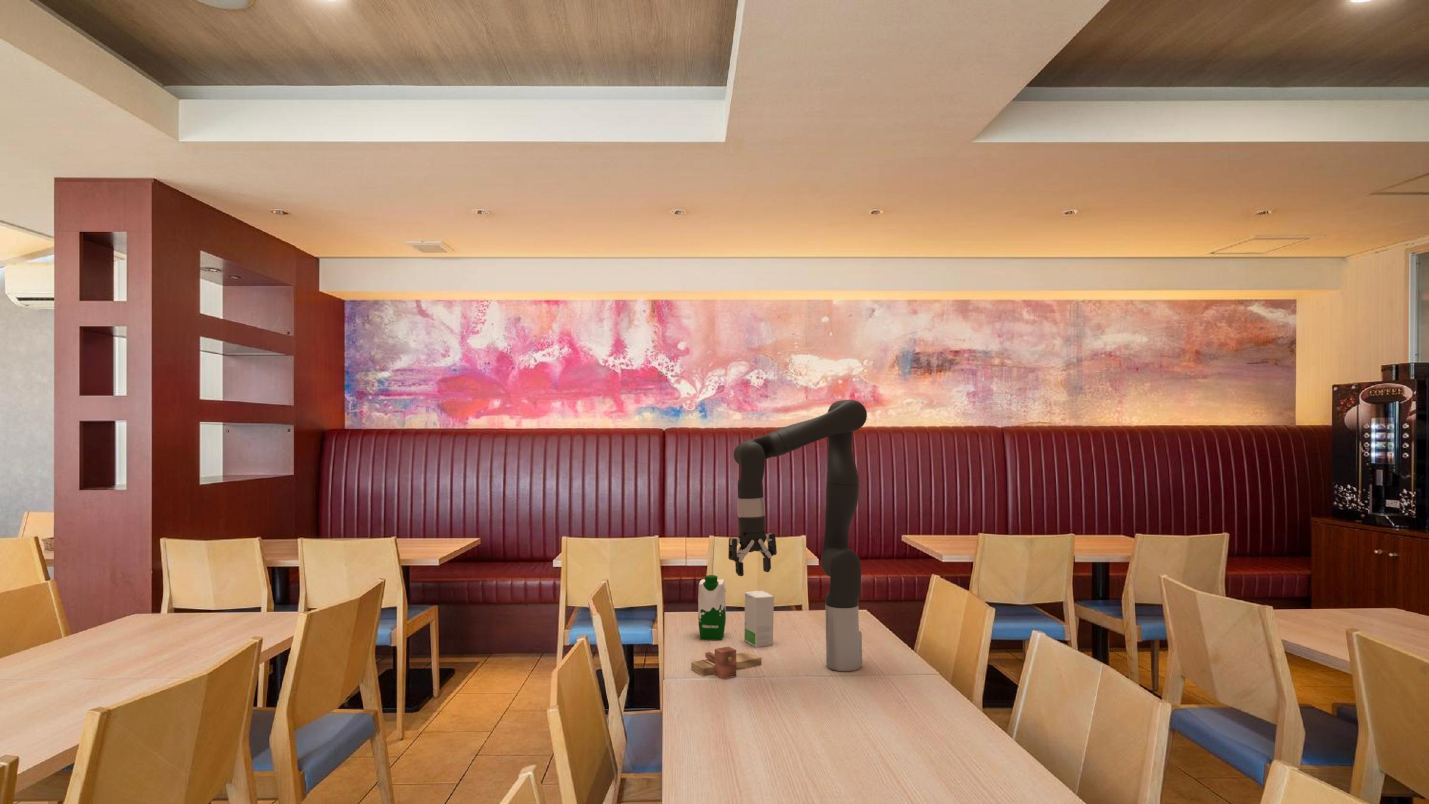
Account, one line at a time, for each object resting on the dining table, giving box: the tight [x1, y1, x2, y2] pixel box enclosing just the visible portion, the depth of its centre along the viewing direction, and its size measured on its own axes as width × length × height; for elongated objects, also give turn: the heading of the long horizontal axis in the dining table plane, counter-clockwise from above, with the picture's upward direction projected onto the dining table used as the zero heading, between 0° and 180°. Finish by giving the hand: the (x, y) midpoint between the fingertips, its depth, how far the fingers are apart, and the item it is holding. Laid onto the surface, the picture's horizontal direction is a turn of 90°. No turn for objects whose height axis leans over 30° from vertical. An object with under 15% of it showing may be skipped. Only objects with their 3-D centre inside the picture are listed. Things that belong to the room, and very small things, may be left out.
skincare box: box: [743, 590, 775, 649], centre depth 232 cm, size 8×7×16 cm
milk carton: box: [697, 574, 727, 641], centre depth 240 cm, size 9×9×20 cm
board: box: [690, 651, 763, 677], centre depth 208 cm, size 19×7×2 cm, turn 120°
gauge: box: [704, 645, 737, 680], centre depth 204 cm, size 4×13×7 cm, turn 30°
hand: (753, 573), depth 202 cm, fingers open, 8 cm apart
